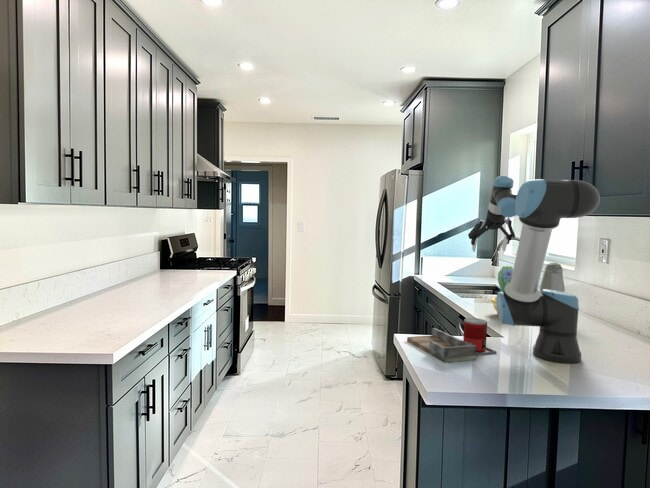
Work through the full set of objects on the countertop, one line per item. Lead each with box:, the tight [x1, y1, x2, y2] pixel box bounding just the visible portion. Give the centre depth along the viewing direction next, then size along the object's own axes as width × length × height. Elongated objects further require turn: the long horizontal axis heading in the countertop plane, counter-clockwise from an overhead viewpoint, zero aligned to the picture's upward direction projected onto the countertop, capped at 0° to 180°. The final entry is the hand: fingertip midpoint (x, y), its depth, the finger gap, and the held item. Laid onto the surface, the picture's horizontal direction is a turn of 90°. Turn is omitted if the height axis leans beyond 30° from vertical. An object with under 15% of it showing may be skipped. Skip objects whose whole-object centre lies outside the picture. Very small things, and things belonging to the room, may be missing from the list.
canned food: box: [462, 317, 488, 353], centre depth 159 cm, size 8×8×11 cm
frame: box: [476, 346, 497, 356], centre depth 159 cm, size 12×10×1 cm
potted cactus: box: [490, 265, 514, 316], centre depth 216 cm, size 15×15×25 cm
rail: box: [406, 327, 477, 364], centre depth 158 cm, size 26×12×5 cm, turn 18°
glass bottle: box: [539, 262, 566, 294], centre depth 207 cm, size 10×10×28 cm
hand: (488, 249), depth 199 cm, fingers open, 13 cm apart
